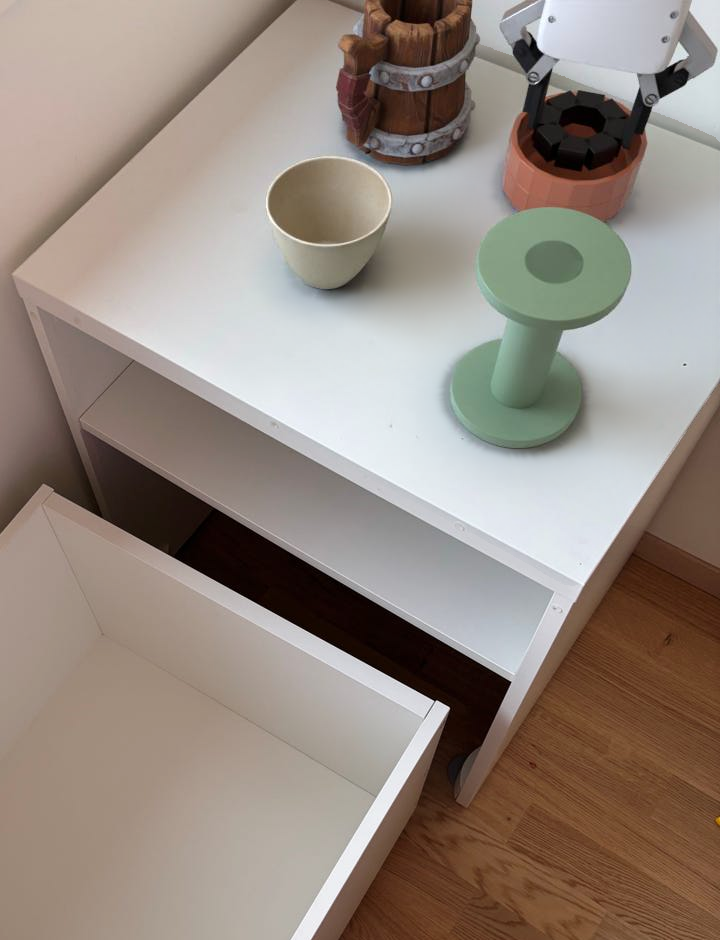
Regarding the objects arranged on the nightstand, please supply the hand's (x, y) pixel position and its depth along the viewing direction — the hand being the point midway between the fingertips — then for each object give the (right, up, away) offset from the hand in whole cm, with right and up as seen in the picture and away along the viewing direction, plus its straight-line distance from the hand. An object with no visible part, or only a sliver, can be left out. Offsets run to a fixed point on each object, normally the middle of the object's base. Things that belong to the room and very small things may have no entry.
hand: (580, 127), depth 82 cm
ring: (0, 0, +1) cm, 1 cm away
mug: (-14, +4, +9) cm, 17 cm away
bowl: (0, -2, +5) cm, 6 cm away
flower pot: (-21, -10, +3) cm, 23 cm away
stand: (-7, -23, -4) cm, 24 cm away
